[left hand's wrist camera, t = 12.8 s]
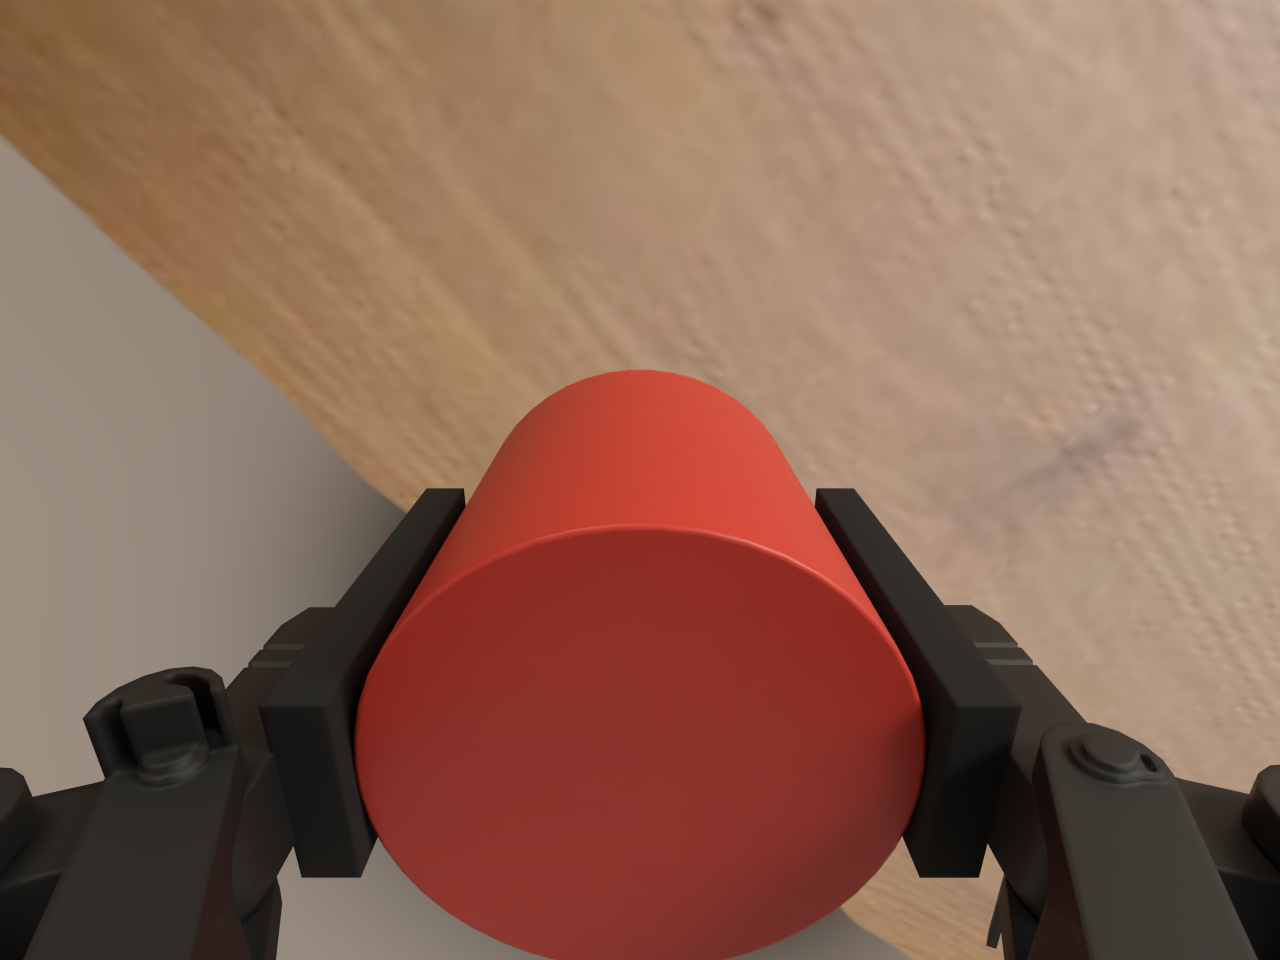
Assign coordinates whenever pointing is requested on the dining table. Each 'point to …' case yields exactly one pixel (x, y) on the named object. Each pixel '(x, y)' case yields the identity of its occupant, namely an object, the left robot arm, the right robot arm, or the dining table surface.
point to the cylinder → (639, 692)
